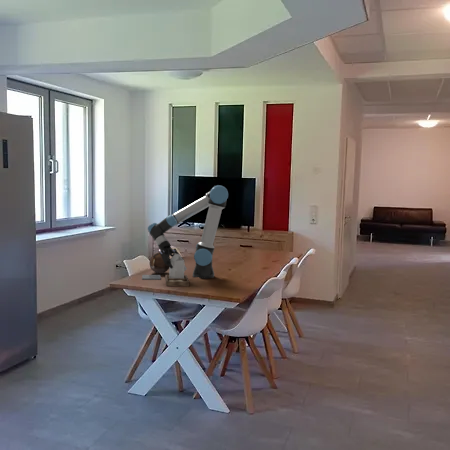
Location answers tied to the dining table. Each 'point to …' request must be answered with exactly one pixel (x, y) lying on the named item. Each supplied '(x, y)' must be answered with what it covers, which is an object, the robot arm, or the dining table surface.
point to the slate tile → (151, 277)
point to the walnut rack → (177, 283)
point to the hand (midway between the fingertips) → (180, 271)
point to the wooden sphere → (158, 263)
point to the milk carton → (177, 266)
